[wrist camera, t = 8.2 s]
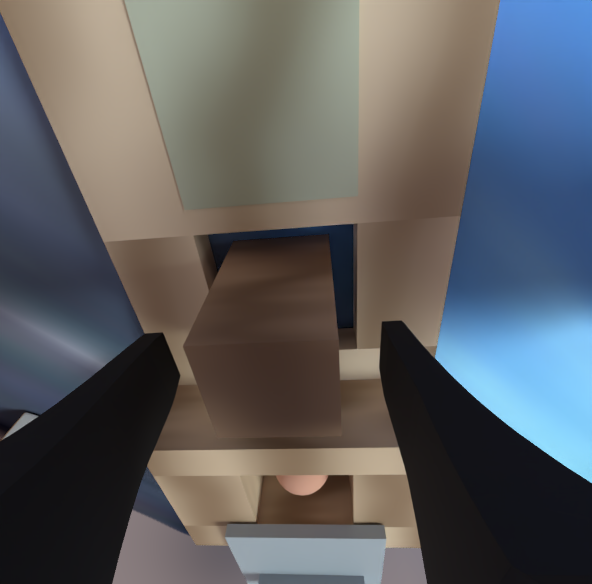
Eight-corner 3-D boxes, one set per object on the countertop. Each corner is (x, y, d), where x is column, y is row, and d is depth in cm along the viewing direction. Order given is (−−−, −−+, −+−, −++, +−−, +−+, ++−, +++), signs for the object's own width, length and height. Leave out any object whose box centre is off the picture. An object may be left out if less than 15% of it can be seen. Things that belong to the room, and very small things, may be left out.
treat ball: (328, 419, 18) (330, 475, 15) (330, 450, 19) (332, 506, 17) (272, 420, 18) (266, 476, 16) (279, 451, 20) (274, 506, 17)
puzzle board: (489, -84, 9) (658, -235, 4) (406, 458, 22) (427, 548, 18) (24, -15, 10) (-193, -81, 6) (217, 460, 23) (196, 545, 19)
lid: (384, 524, 16) (394, 593, 14) (378, 576, 20) (386, 636, 18) (227, 523, 17) (214, 588, 15) (250, 573, 21) (243, 631, 19)
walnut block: (328, 233, 14) (338, 339, 8) (332, 311, 16) (341, 436, 10) (233, 240, 14) (182, 346, 9) (249, 316, 16) (217, 438, 11)
